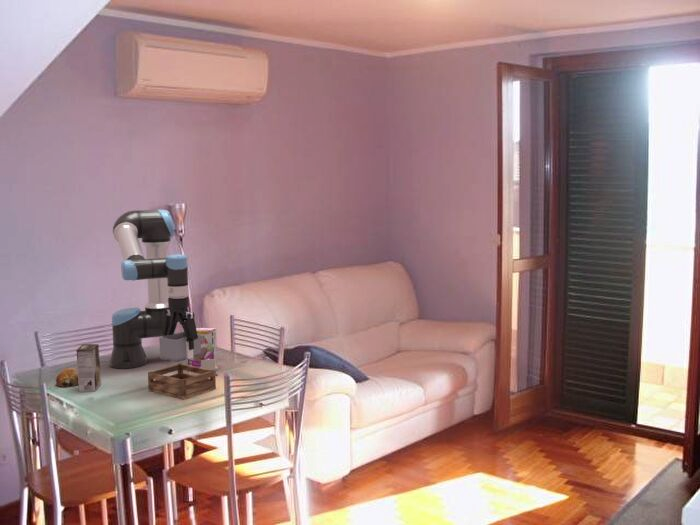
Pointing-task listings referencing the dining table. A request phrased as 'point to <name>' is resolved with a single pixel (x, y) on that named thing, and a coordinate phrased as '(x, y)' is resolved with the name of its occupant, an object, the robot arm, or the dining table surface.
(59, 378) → the bread roll
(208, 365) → the architectural model
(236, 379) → the dining table surface
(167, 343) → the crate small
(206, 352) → the candy bar box
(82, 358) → the coffee box
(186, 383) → the crate big
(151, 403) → the dining table surface
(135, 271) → the robot arm
